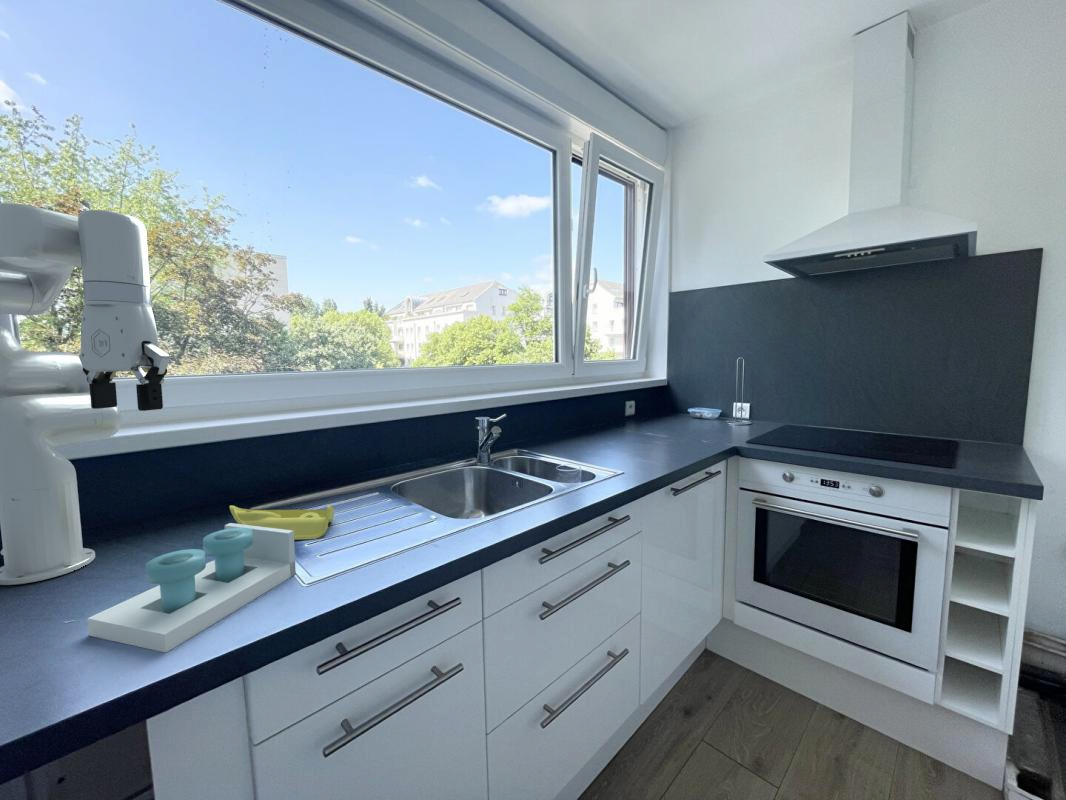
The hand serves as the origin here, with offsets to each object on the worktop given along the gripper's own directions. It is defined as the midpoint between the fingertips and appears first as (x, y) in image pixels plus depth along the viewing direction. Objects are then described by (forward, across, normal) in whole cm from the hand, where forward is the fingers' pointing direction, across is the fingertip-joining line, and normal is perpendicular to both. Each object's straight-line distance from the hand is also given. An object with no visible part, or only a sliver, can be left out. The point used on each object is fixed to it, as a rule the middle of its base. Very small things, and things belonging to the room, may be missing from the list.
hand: (127, 408), depth 69 cm
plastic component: (+31, +2, +28) cm, 42 cm away
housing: (+30, +12, +1) cm, 33 cm away
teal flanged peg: (+30, +12, +6) cm, 33 cm away
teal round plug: (+30, +13, -4) cm, 33 cm away
